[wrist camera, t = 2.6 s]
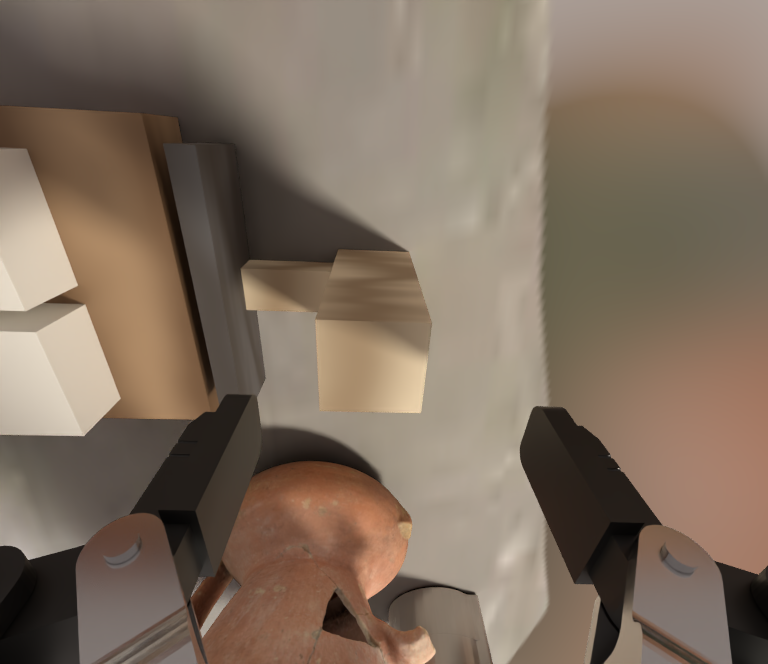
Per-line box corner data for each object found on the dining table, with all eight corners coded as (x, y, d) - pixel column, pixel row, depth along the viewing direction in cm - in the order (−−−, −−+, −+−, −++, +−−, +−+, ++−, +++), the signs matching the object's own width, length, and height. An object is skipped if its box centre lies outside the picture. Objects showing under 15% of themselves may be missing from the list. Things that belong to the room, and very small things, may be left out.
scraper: (417, 153, 18) (451, 163, 10) (398, 381, 25) (410, 496, 17) (209, 142, 17) (72, 144, 10) (247, 377, 24) (185, 494, 16)
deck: (177, 117, 17) (141, 113, 14) (230, 389, 24) (212, 419, 22) (-91, 102, 16) (-181, 95, 14) (47, 385, 24) (6, 416, 21)
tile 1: (85, 304, 18) (35, 332, 15) (120, 398, 21) (83, 435, 18) (-40, 300, 18) (-112, 328, 15) (13, 396, 21) (-40, 434, 18)
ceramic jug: (397, 419, 26) (409, 675, 14) (434, 537, 33) (467, 784, 20) (175, 464, 28) (8, 722, 16) (252, 566, 35) (178, 807, 22)
